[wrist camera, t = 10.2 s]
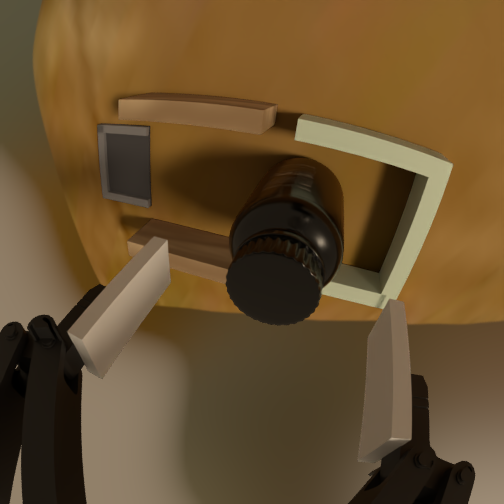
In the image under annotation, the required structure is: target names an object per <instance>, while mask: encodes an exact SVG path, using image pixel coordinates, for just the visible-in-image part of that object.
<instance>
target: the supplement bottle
mask: <svg viewBox="0 0 504 504" xmlns="http://www.w3.org/2000/svg"><path fill="white" fill-rule="evenodd" d="M229 249H230V254H231V258H232V262H231V264H230V266H229V268H228V272H227V274H226V280H227V281H226V286H227V292H228V293H229V295H230V299H231V300H232V301H233V302H234V305H236V306H237V307H238V308H239V310H240V311H242V312H244V313H245V314H246V315H247V316H250V317H251V318H253V319H254V320H258V321H260V322H262V323H267V324H271V325H273V324H275V325H289V324H295V323H297V322H299V321H303V320H304V319H305V318H308V317H309V316H310V314H312V313H313V312H314V311H315V308H316V307H317V306H318V305H319V300H320V298H321V295H322V289H323V288H324V287H325V286H327V285H328V284H329V283H330V282H331V281H332V280H333V278H334V277H335V276H336V274H337V273H338V271H339V269H340V266H341V263H342V260H343V252H344V200H343V192H342V188H341V185H340V183H339V181H338V179H337V178H336V176H335V175H334V173H333V172H332V171H331V170H330V169H328V168H327V167H326V166H324V165H323V164H321V163H319V162H317V161H315V160H312V159H308V158H290V159H286V160H283V161H281V162H279V163H277V164H276V165H274V166H273V167H272V168H271V169H270V170H269V171H268V172H267V173H266V174H265V176H264V177H263V178H262V180H261V181H260V183H259V184H258V186H257V187H256V188H255V190H254V191H253V193H252V194H251V196H250V197H249V199H248V200H247V202H246V203H245V205H244V206H243V208H242V209H241V211H240V212H239V214H238V215H237V217H236V219H235V221H234V223H233V225H232V227H231V230H230V235H229Z"/></svg>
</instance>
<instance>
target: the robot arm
mask: <svg viewBox="0 0 504 504" xmlns="http://www.w3.org/2000/svg"><path fill="white" fill-rule="evenodd" d="M170 283H171V280H170V268H169V255H168V240H166V239H162V238H159V237H155V236H154V237H153V238H152V239H151V240H150V241H149V242H148V243H147V244H146V245H145V246H144V247H143V248H142V249H141V250H140V251H139V252H138V253H137V254H136V255H135V256H134V257H133V258H132V260H131V261H130V262H129V263H128V264H127V265H126V266H125V267H124V268H123V269H122V270H121V271H120V272H119V273H118V274H117V276H116V277H115V278H114V279H113V280H112V281H111V282H110V283H109V284H108V285H107V286H103V285H101V284H99V285H97V286H95V287H94V288H92V289H90V290H89V291H88V292H87V293H86V295H84V297H83V298H82V299H81V300H80V301H79V302H78V303H77V305H76V306H74V308H73V309H72V310H71V311H70V312H69V313H68V314H67V315H66V317H65V318H64V319H63V320H62V321H61V322H60V323H59V325H58V326H57V325H56V324H55V321H54V320H53V318H52V317H50V316H49V315H39V316H37V317H35V318H33V319H32V320H31V322H29V324H28V327H27V329H28V330H29V331H25V330H24V328H23V327H22V325H21V324H20V323H18V322H11V323H8V324H7V325H6V326H4V327H3V329H2V330H1V332H0V504H9V503H10V497H11V491H12V485H13V480H14V475H15V470H16V465H17V461H18V457H19V452H20V449H21V480H22V498H23V504H86V495H85V486H84V476H83V463H82V444H81V443H82V441H81V394H82V393H81V392H82V371H81V369H82V367H83V366H84V364H85V366H86V367H87V370H88V371H89V372H90V373H92V374H94V375H96V376H98V377H99V378H101V379H103V377H104V376H105V374H106V373H107V371H108V370H109V368H110V367H111V366H112V364H113V363H114V361H115V360H116V358H117V357H118V355H119V354H120V352H121V351H122V349H123V348H124V346H125V345H126V344H127V342H128V341H129V339H130V338H131V337H132V335H133V334H134V332H135V331H136V329H137V328H138V327H139V325H140V324H141V323H142V321H143V320H144V318H145V317H146V316H147V314H148V313H149V311H150V310H151V309H152V307H153V306H154V305H155V303H156V302H157V300H158V299H159V298H160V296H161V295H162V294H163V292H164V291H165V290H166V288H167V287H168V285H169V284H170ZM17 365H18V367H17V368H16V366H17ZM15 368H16V369H15ZM428 408H429V403H428V387H427V385H426V382H425V380H424V378H423V376H421V375H414V374H411V369H410V355H409V342H408V332H407V323H406V314H405V307H404V302H401V301H397V300H393V299H389V300H388V302H387V304H386V306H385V307H384V309H383V311H382V313H381V315H380V317H379V318H378V320H377V322H376V324H375V325H374V327H373V329H372V331H371V333H370V334H369V336H368V348H367V371H366V387H365V400H364V412H363V421H362V430H361V438H360V446H359V454H358V461H361V462H370V463H376V462H377V461H379V460H381V459H382V461H381V467H379V468H377V469H376V470H374V471H372V472H371V473H370V474H368V475H369V476H371V475H372V477H371V478H370V479H369V480H368V481H367V483H366V484H365V485H364V486H363V487H362V489H361V490H360V491H359V492H358V493H357V494H356V495H355V496H354V498H353V499H352V500H351V501H350V502H349V503H348V504H468V501H469V498H470V495H471V491H472V488H473V484H474V480H475V471H474V468H473V466H472V465H471V464H470V463H469V462H467V461H461V462H458V463H456V464H452V463H449V462H447V461H444V460H442V459H440V458H438V457H437V456H436V454H435V451H434V450H433V449H432V448H431V447H430V441H429V410H428ZM21 445H22V448H21Z"/></svg>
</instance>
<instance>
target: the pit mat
mask: <svg viewBox="0 0 504 504" xmlns="http://www.w3.org/2000/svg"><path fill="white" fill-rule="evenodd" d="M97 127H98V147H99V162H100V174H101V184H102V193H103V198H106V199H111V200H115V201H120V202H124V203H129V204H133V205H138V206H142V207H147V208H149V207H150V206H151V205H152V204H151V179H150V126H141V125H125V124H99V125H97Z"/></svg>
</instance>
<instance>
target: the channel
mask: <svg viewBox="0 0 504 504" xmlns="http://www.w3.org/2000/svg"><path fill="white" fill-rule="evenodd" d="M277 105H278V104H272V103H265V102H259V101H252V100H244V99H236V98H227V97H217V96H206V95H192V94H174V93H148V94H142V95H138V96H133V97H128V98H124V99H119V120H136V121H152V122H165V123H176V124H186V125H195V126H204V127H212V128H219V129H227V130H233V131H240V132H246V133H252V134H258V135H261V134H262V133H263V132H265V131H266V130H268V129H269V128H270V127H272V126H273V125H274V124H275V119H276V112H277ZM154 236H155V237H159V238H162V239H166V240H168V255H169V268H172V269H176V270H179V271H182V272H186V273H189V274H192V275H196V276H199V277H203V278H206V279H210V280H213V281H217V282H220V283H224V284H226V281H227V280H226V274H227V272H228V268H229V266H230V264H231V262H232V258H231V254H230V249H229V237H225V236H221V235H217V234H213V233H209V232H205V231H201V230H197V229H193V228H189V227H185V226H181V225H177V224H173V223H169V222H164V221H160V220H156V219H151V220H150V221H149V222H148V223H147V224H146V225H144V226H143V227H142V228H141V229H140V230H139V231H138V232H137V233H135V234H134V235H133V236H132V237H131V238H130V239H129V240H128V241H127V243H128V250H129V255H130V256H133V257H134V256H135V255H136V254H137V253H138V252H139V251H140V250H141V249H142V248H143V247H144V246H145V245H146V244H147V243H148V242H149V241H150V240H151V239H152V238H153V237H154Z"/></svg>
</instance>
